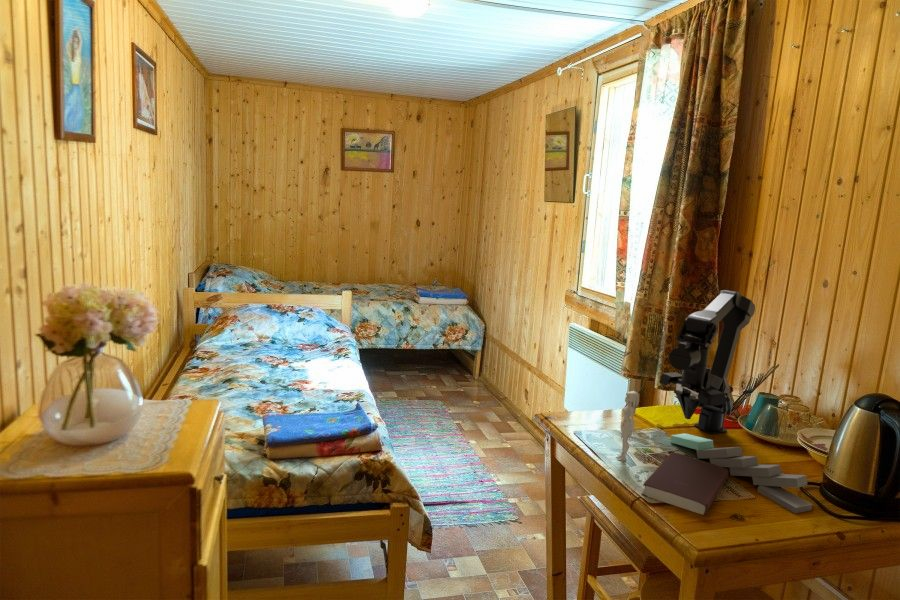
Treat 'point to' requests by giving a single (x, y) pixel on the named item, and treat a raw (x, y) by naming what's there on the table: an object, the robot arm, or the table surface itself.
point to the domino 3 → (757, 471)
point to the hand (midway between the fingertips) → (687, 418)
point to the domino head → (692, 441)
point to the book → (686, 482)
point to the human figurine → (628, 422)
